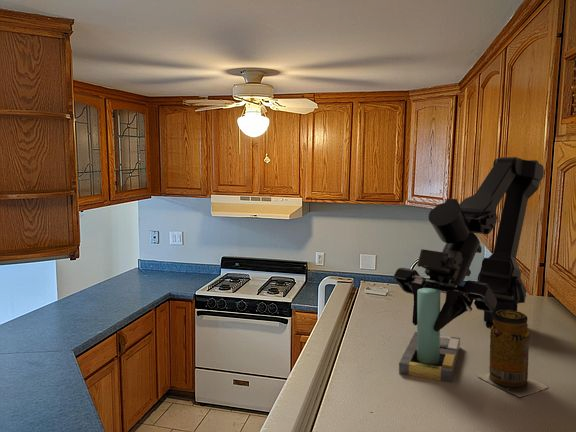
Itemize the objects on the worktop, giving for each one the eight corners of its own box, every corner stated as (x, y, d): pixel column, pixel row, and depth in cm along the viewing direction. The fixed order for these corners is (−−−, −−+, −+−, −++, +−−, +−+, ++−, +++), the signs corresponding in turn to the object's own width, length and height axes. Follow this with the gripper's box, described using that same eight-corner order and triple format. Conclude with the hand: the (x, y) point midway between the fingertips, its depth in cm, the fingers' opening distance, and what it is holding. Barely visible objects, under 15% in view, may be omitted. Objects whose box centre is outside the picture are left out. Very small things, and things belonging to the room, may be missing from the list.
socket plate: (459, 347, 94) (460, 336, 94) (451, 382, 80) (451, 369, 79) (415, 340, 98) (415, 330, 97) (399, 373, 83) (399, 361, 83)
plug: (436, 354, 87) (437, 288, 85) (441, 364, 83) (442, 294, 81) (415, 354, 87) (415, 288, 85) (419, 363, 83) (419, 294, 82)
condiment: (505, 368, 84) (507, 305, 83) (548, 388, 77) (551, 319, 75) (476, 377, 81) (478, 312, 80) (519, 399, 74) (521, 327, 72)
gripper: (398, 227, 92) (363, 293, 86) (491, 238, 78) (457, 317, 72) (420, 259, 98) (389, 322, 92) (509, 274, 84) (479, 350, 78)
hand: (424, 327), depth 83 cm, fingers closed on plug, 4 cm apart
